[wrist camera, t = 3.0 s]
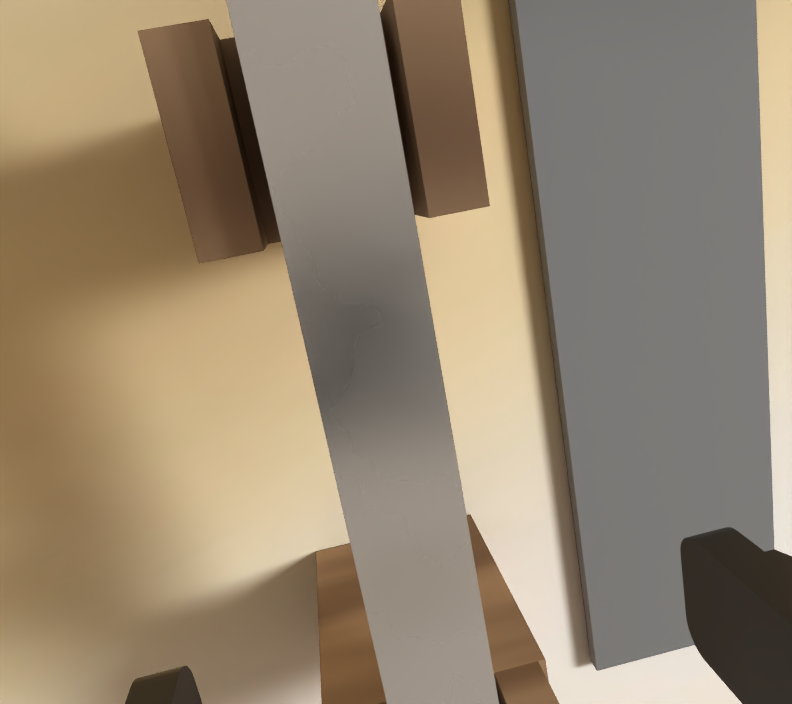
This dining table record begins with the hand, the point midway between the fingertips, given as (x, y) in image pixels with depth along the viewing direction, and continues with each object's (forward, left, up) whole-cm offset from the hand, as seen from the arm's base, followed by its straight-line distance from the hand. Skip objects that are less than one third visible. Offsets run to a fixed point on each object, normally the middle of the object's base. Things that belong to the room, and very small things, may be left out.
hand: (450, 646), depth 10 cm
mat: (0, +11, -13) cm, 17 cm away
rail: (0, 0, -5) cm, 5 cm away
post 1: (-8, 0, -13) cm, 16 cm away
